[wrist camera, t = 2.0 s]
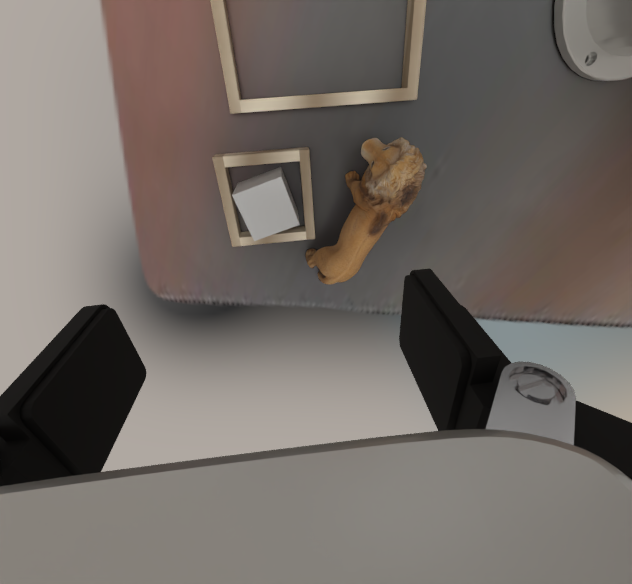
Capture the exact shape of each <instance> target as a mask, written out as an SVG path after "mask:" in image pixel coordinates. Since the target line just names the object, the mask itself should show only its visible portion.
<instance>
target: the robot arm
mask: <svg viewBox="0 0 632 584" xmlns="http://www.w3.org/2000/svg"><path fill="white" fill-rule="evenodd" d="M554 28H555V34H556V41H557V45H558V48H559V50H560V53H561V55H562V58H563V59H564V61H565V62H566V63H567V65H568V66H569V67H570V69H572V70H573V71H574V72H576V73H577V74H578V75H580V76H581V77H584V78H587V79H590V80H593V81H615V80H624V79H627V78H631V77H632V0H555V6H554ZM399 337H400V338H399V339H400V347H401V349H402V351H403V354H404V356H405V358H406V360H407V363H408V365H409V367H410V369H411V371H412V374H413V376H414V378H415V380H416V382H417V385H418V387H419V389H420V391H421V393H422V396H423V398H424V400H425V402H426V404H427V407H428V409H429V411H430V413H431V415H432V418H433V420H434V422H435V424H436V426H437V428H438V431H434V432H424V433H414V434H406V435H395V436H387V437H376V438H368V439H360V440H352V441H343V442H335V443H327V444H319V445H310V446H302V447H294V448H286V449H278V450H269V451H261V452H254V453H246V454H238V455H230V456H222V457H214V458H206V459H198V460H191V461H182V462H175V463H167V464H160V465H151V466H144V467H137V468H129V469H121V470H114V471H106V472H101V470H102V468H103V466H104V464H105V462H106V460H107V458H108V456H109V454H110V451H111V449H112V447H113V445H114V443H115V441H116V439H117V437H118V435H119V433H120V431H121V428H122V426H123V424H124V422H125V420H126V418H127V416H128V414H129V412H130V410H131V408H132V405H133V404H134V401H135V399H136V397H137V395H138V393H139V391H140V389H141V387H142V385H143V383H144V381H145V378H146V369H145V366H144V364H143V363H142V361H141V359H140V357H139V355H138V353H137V351H136V349H135V347H134V345H133V343H132V341H131V340H130V338H129V336H128V334H127V332H126V330H125V328H124V326H123V324H122V322H121V321H120V319H119V317H118V315H117V313H116V311H115V310H114V309H112V308H109V307H108V306H107V305H94V306H86V307H83V308H82V309H81V310H80V311H79V312H78V313H77V314H76V315H75V316H74V317H73V318H72V319H71V321H70V322H69V323H68V324H67V325H66V326H65V327H64V328H63V329H62V330H61V331H60V332H59V333H58V335H57V336H56V337H55V338H54V339H53V340H52V341H51V342H50V343H49V344H48V346H46V348H45V349H44V350H43V351H42V352H41V353H40V354H39V355H38V356H37V357H36V358H35V359H34V361H33V362H32V363H31V364H30V365H29V366H28V367H27V368H26V369H25V370H24V371H23V372H22V374H20V376H19V377H18V378H17V379H16V380H15V381H14V382H13V383H12V384H11V385H10V386H9V388H8V389H7V390H6V391H5V392H4V393H3V394H2V395H1V396H0V584H632V423H630V422H628V421H626V420H623V419H620V418H618V417H616V416H613V415H611V414H608V413H606V412H603V411H601V410H598V409H596V408H593V407H591V406H588V405H586V404H584V403H581V402H579V401H576V397H575V392H574V389H573V388H572V386H571V385H570V383H569V382H568V381H567V380H566V379H565V378H563V377H562V376H561V375H560V374H558V373H557V372H555V371H553V370H552V369H550V368H547V367H545V366H543V365H540V364H536V363H531V362H515V363H511V362H510V361H509V360H508V358H507V357H506V356H505V355H504V354H503V353H502V351H501V350H500V349H499V348H498V346H497V345H496V344H495V343H494V342H493V341H492V339H491V338H490V337H489V336H488V335H487V333H486V332H485V331H484V330H483V329H482V328H481V326H480V325H479V324H478V323H477V321H476V320H475V319H474V318H473V317H472V315H471V314H470V313H469V312H468V311H467V309H466V308H465V307H463V306H462V305H460V304H459V303H458V302H457V300H456V299H455V298H454V297H453V296H452V294H451V293H450V292H449V291H448V290H447V288H446V287H445V286H444V285H443V283H442V282H441V281H440V280H439V279H438V277H437V276H436V275H435V274H434V272H433V271H432V270H431V269H421V270H412V271H411V273H410V275H407V276H405V280H404V292H403V303H402V314H401V325H400V336H399Z"/></svg>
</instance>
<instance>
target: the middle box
mask: <svg viewBox="0 0 632 584" xmlns="http://www.w3.org/2000/svg"><path fill="white" fill-rule="evenodd" d="M210 3H211V8H212V14H213V19H214V25H215V30H216V36H217V41H218V47H219V52H220V58H221V63H222V69H223V74H224V80H225V86H226V91H227V97H228V102H229V108H230V113H231V114H233V113H246V112H259V111H273V110H286V109H299V108H313V107H326V106H339V105H353V104H366V103H379V102H392V101H406V100H417V93H418V83H419V72H420V62H421V51H422V41H423V30H424V20H425V9H426V0H408V3H407V17H406V31H405V45H404V59H403V73H402V87H401V88H396V89H382V90H368V91H355V92H341V93H327V94H314V95H300V96H286V97H273V98H259V99H245V100H241V94H240V88H239V82H238V75H237V69H236V63H235V57H234V51H233V44H232V38H231V32H230V26H229V20H228V13H227V7H226V1H225V0H210Z"/></svg>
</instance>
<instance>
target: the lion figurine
mask: <svg viewBox="0 0 632 584" xmlns="http://www.w3.org/2000/svg"><path fill="white" fill-rule="evenodd" d="M361 155H362V156H363V158H364V159H365V160H367V161H368V163H369V166H368V168H367V170H366V171H365V173H364V175H363V177H362V179H361V181H359V174H357V173H356V171H353V172H352V171H350V172H349V173H347V174H346V175H345V179H346V183H347V186H348V187H349V189H350V190H351V193H352V195H353V200H354V203H356V205H355V206H354V208H353V209H352V210H351V212H350V214H349V216H348V218H347V220H346V221H345V223H344V225H343V227H342V230H341V233H340V236H339V240H338V242H337V244H336V245H334V246H327V247H323V248H320V249H319V250H317V251H316V249H308V250H307V251H306V260H307V263H308V265H309V267H311V268H313V267H314V266H317V267H318V268H319V270H320V271H319V272H318V277H319V278H318V279H319V280H320V281H321V282H323V283H325V284H333V283H336V282H344V281H347V280H349V279H350V278H351V277H352V276H354V275H355V274H356V273H357V272H358V271H359V269H360V267H361V265H362V263H363V261H364V259H365V257H366V255H367V254H368V253H369V251H370V250H371V249H372V247H373V246H374V244H375V243H376V242H377V241H378V239H379V238H380V236H381V234H382V233H383V232H384V230H385V229H386V227H387V226H388V224H389V223H390V222H391V221H394V220H395V218H400V217H401V215H402V214H403V213H405V212H406V211H407V210H408V208H409V206H410V205H411V204H412V203H413V201H414V200H415V198H416V196H417V194H418V192H419V190H420V189H421V183H422V180H423V179H424V174H425V169H426V168H427V166H426V164H425V163H423V158H422V154H421V153H420V151H419V148H415V146H413V145H410V143H409V142H408V141H407V140H405V139H404V138H401V137H400V138H399V139H397V140H394V141H393V142H392V143H388V144H387V145H385V144H383V143H382V142H381V141H380V140H379V139H377V138H372V139H368V140H367V141H365V142H364V143H363V145H362V148H361Z"/></svg>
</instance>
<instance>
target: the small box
mask: <svg viewBox="0 0 632 584" xmlns="http://www.w3.org/2000/svg"><path fill="white" fill-rule="evenodd" d="M212 158H213V163H214V167H215V172H216V176H217V181H218V185H219V190H220V194H221V199H222V203H223V208H224V212H225V217H226V221H227V226H228V230H229V235H230V239H231V244H232V247H235V246H246V245H256V244H267V243H277V242H287V241H298V240H308V239H315V229H314V214H313V199H312V184H311V169H310V154H309V148H308V147H301V148H289V149H276V150H264V151H252V152H240V153H227V154H215V155H214V156H213V157H212ZM295 161H299V162H300V174H301V186H302V198H303V210H304V222H305V226H299V227H292V228H289V229H287V230H284V231H281V232H278V233H276V234H273V235H270V236H267V237H265V238H262V239H259V240H256V241H254V240H253V238H252V236H251V234H250V231H246V232H241V230H240V225H239V220H238V215H237V210H236V205H235V201H234V199H233V196H232V194H233V190H232V185H231V180H230V175H229V170H228V167H235V166H247V165H259V164H271V163H283V162H295Z"/></svg>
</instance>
